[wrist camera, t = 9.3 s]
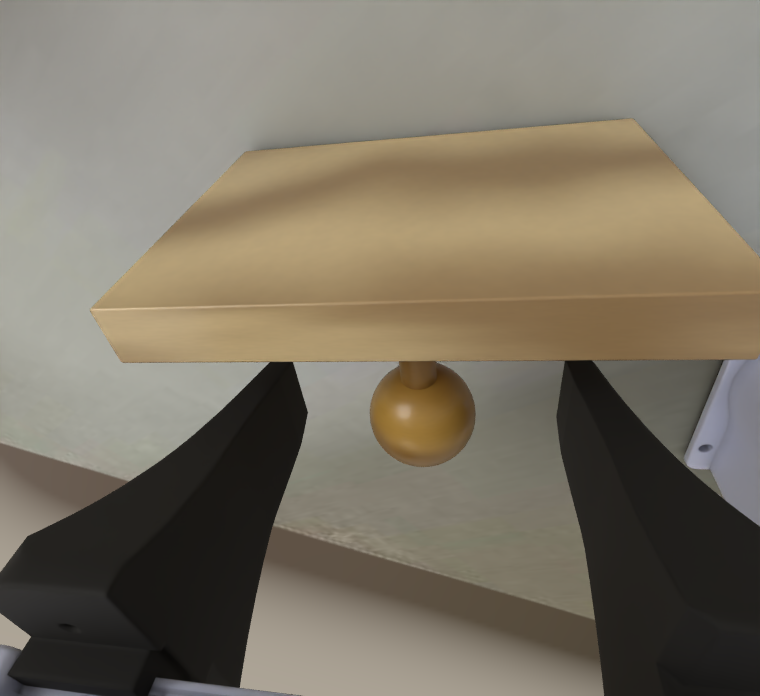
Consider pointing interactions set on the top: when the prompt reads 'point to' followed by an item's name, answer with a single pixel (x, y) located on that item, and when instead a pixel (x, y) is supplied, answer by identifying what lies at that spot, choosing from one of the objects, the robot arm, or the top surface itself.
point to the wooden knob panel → (444, 267)
